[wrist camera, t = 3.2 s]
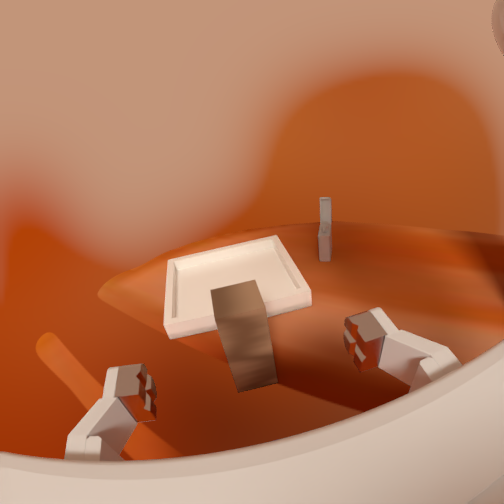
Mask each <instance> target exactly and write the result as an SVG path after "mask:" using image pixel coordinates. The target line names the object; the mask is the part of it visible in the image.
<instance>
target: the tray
mask: <svg viewBox="0 0 504 504" xmlns="http://www.w3.org/2000/svg"><path fill="white" fill-rule="evenodd" d="M251 280H255V281H256V283H257V286H258V288H259V291H260V294H261V296H262V299H263V302H264V304H265V307H266V313H267V317H271V316H275V315H278V314H282V313H286V312H290V311H294V310H297V309H301V308H305V307H308V306H312V299H311V289H310V288H309V286H308V285H307V283H306V281H305V280H304V278H303V276H302V275H301V273H300V272H299V270H298V268H297V267H296V265H295V263H294V262H293V260H292V259H291V257H290V255H289V254H288V252H287V251H286V249H285V247H284V246H283V244H282V243H281V241H280V240H279V238H278V236H277V235H274V236H270V237H266V238H261V239H257V240H252V241H248V242H244V243H239V244H235V245H230V246H226V247H222V248H217V249H213V250H209V251H204V252H200V253H196V254H192V255H187V256H183V257H179V258H174V259H170V260H168V267H167V279H166V293H165V309H164V327H165V329H166V332H167V334H168V336H169V338H170V339H174V338H179V337H184V336H189V335H193V334H198V333H203V332H207V331H212V330H216V329H218V328H217V325H216V322H215V318H214V312H213V305H212V298H211V291H210V290H212V289H217V288H221V287H225V286H229V285H234V284H238V283H242V282H246V281H251Z"/></svg>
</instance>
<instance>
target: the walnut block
mask: <svg viewBox="0 0 504 504" xmlns="http://www.w3.org/2000/svg"><path fill="white" fill-rule="evenodd" d="M210 291H211V298H212V305H213V312H214V318H215V322H216V325H217V328H218V332H219V335H220V338H221V341H222V344H223V348H224V351H225V354H226V357H227V360H228V363H229V366H230V369H231V372H232V375H233V378H234V381H235V384H236V387H237V390H238V393H239V392H243V391H248V390H252V389H256V388H260V387H264V386H267V385H272V384H276V383H278V380H277V374H276V368H275V362H274V355H273V349H272V343H271V337H270V331H269V325H268V319H267V313H266V307H265V304H264V302H263V299H262V296H261V294H260V291H259V288H258V286H257V283H256V281H255V280H251V281H246V282H242V283H238V284H234V285H229V286H225V287H221V288H217V289H212V290H210Z"/></svg>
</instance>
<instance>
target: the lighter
mask: <svg viewBox="0 0 504 504" xmlns="http://www.w3.org/2000/svg"><path fill="white" fill-rule="evenodd" d="M320 223H321V224H320V228H319V233H318V246H319V261H331V253H332V232H331V223H332V210H331V198H330V197H321V198H320Z"/></svg>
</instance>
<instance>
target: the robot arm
mask: <svg viewBox="0 0 504 504" xmlns="http://www.w3.org/2000/svg"><path fill="white" fill-rule="evenodd" d="M492 29H493V33H494V37H495V40H496V42H497V45H498V47H499V49H500V51H501V52H502V54H503V56H504V0H496V2H495V4H494V7H493V10H492ZM344 325H345V327H346V328H347V329H346V331H345V332H344V343H345V347H346V349H347V351H348V353H349V354H351V355H353V356H354V363H355V365H356V366H357V368H358V370H359V372H363V371H366V370H369V369H372V368H375V367H378V366H379V368H380V369H382V370H384V371H385V372H387V373H389V374H390V375H392V376H394V377H396V378H397V379H399V380H401V381H402V382H404V383H406V384H408V385H409V386H411V387H410V390H409V393H408V394H406V395H404V396H402V397H399V398H397V399H395V400H393V401H390V402H388V403H386V404H383V405H381V406H378V407H376V408H374V409H371V410H368V411H366V412H363V413H361V414H358V415H355V416H353V417H350V418H347V419H344V420H342V421H339V422H336V423H333V424H330V425H327V426H324V427H321V428H317V429H314V430H311V431H307V432H304V433H301V434H297V435H293V436H290V437H286V438H282V439H278V440H274V441H270V442H266V443H262V444H257V445H252V446H248V447H243V448H238V449H232V450H227V451H221V452H215V453H208V454H202V455H195V456H186V457H177V458H166V459H154V460H136V461H125V460H124V459H123V458H122V457H120V456H119V454H120V452H121V451H122V449H123V447H124V446H125V444H126V442H127V441H128V439H129V437H130V435H131V434H132V432H133V430H134V429H135V427H136V425H137V422H146V421H153V420H156V405H155V404H154V401H155V399H156V398H157V396H156V395H157V392H156V386H155V383H154V380H153V379H152V377H151V376H149V375H148V374H147V368H146V366H145V365H144V364H135V365H126V366H119V367H110V368H109V369H108V370H107V374H106V380H105V385H104V391H103V397H102V399H99V400H98V401H97V402H96V403H95V404H94V406H93V407H92V408H91V409H90V410H89V411H88V413H87V414H86V415H85V416H84V417H83V418H82V420H81V421H80V422H79V423H78V424H77V426H76V427H75V428H74V429H73V430H72V431H71V433H70V434H69V435H68V439H67V440H68V441H67V445H66V452H65V458H64V460H63V459H52V458H42V457H34V456H26V455H19V454H14V453H8V452H0V504H504V339H503V340H502V341H500V342H499V343H498V344H496V345H495V346H493V347H491V348H490V349H488V350H487V351H485V352H484V353H482V354H480V355H479V356H477V357H476V358H474V359H472V360H471V361H469V362H467V363H466V364H464V365H462V364H461V363H460V361H459V360H458V359H457V358H456V357H455V355H454V354H453V353H452V352H451V351H450V349H449V348H448V347H446V346H443V345H441V344H438V343H436V342H433V341H430V340H428V339H425V338H422V337H420V336H417V335H415V334H412V333H410V332H407V331H404V330H398V329H397V327H396V326H395V325H394V324H393V322H392V321H391V320H390V319H389V318H388V316H387V315H386V314H385V313H384V312H383V310H382V309H381V308H379V307H377V308H374V309H371V310H368V311H365V312H362V313H359V314H356V315H352V316H349V317H346V319H345V324H344Z"/></svg>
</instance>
